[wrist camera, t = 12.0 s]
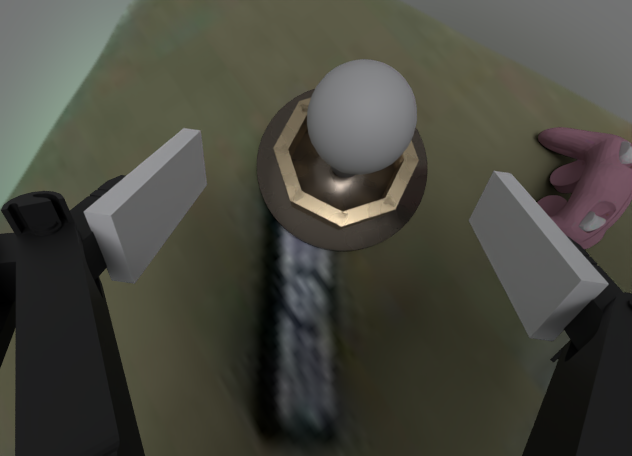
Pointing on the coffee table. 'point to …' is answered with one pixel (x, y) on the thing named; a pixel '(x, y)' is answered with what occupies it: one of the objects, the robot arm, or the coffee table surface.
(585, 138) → the video game controller
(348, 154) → the lightbulb
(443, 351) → the coffee table surface
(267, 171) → the socket
